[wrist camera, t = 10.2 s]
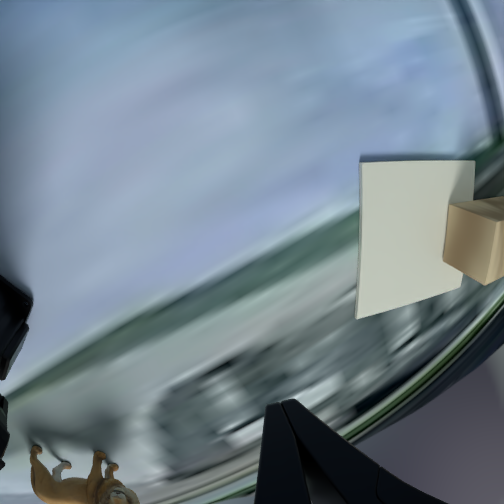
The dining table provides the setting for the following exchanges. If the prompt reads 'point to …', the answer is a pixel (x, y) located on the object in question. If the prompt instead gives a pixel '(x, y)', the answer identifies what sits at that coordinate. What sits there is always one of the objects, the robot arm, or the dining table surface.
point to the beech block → (476, 239)
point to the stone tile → (407, 230)
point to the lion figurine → (79, 484)
